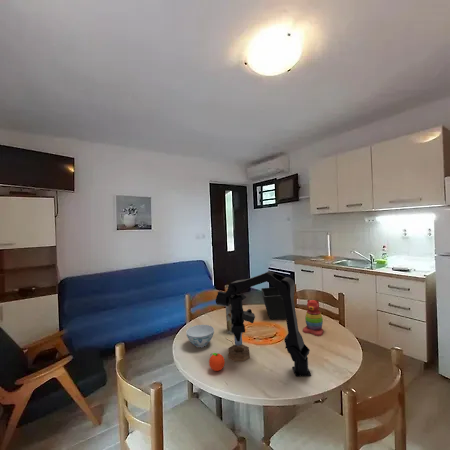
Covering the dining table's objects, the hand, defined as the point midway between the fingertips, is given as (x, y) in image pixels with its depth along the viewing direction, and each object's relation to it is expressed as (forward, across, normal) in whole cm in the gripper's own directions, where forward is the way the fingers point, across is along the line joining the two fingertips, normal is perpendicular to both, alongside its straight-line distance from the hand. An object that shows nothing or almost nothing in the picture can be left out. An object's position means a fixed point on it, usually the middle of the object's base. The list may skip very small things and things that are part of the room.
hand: (238, 339), depth 125 cm
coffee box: (+8, +27, +1) cm, 28 cm away
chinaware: (+8, +13, +20) cm, 25 cm away
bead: (+8, 0, 0) cm, 8 cm away
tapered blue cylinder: (+2, 0, 0) cm, 2 cm away
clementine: (+8, -10, +11) cm, 17 cm away
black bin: (+8, +48, -28) cm, 56 cm away
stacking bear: (+8, +23, -44) cm, 50 cm away
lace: (+8, +12, +4) cm, 15 cm away
